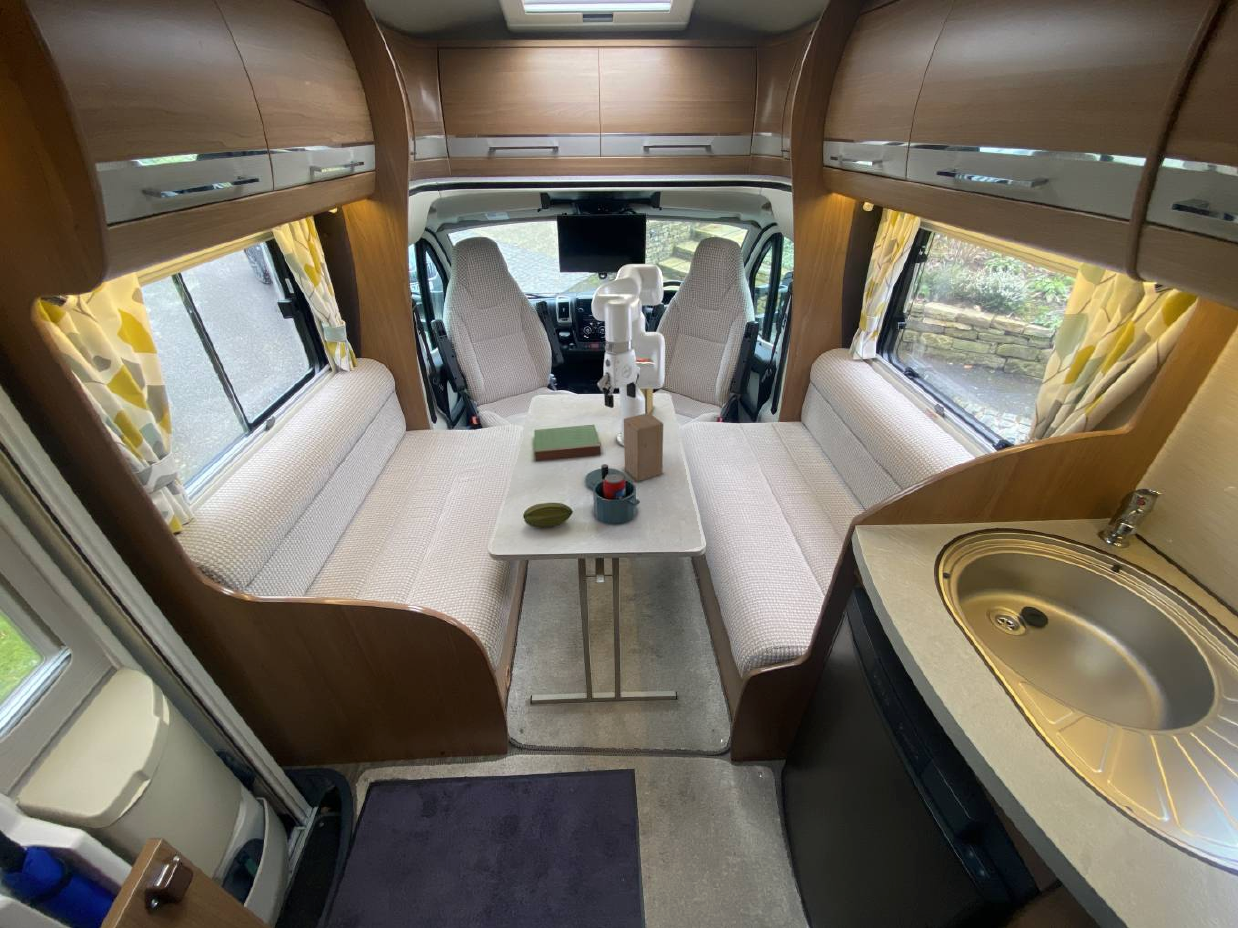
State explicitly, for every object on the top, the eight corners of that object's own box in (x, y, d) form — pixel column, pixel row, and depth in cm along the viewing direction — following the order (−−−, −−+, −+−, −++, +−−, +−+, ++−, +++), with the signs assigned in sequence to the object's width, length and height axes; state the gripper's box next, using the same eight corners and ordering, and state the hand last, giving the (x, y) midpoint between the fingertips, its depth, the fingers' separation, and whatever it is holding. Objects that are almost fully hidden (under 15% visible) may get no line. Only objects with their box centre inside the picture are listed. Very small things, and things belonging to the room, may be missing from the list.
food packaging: (633, 405, 227) (633, 351, 215) (653, 406, 225) (654, 353, 212) (626, 417, 216) (625, 361, 204) (647, 419, 214) (647, 363, 201)
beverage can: (623, 517, 152) (622, 484, 146) (602, 515, 153) (600, 482, 147) (627, 504, 158) (627, 472, 152) (607, 502, 159) (605, 470, 153)
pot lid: (605, 466, 180) (604, 452, 177) (633, 480, 172) (633, 464, 169) (577, 482, 171) (575, 467, 168) (605, 496, 163) (605, 481, 160)
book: (535, 460, 185) (534, 452, 183) (535, 438, 201) (534, 430, 199) (602, 454, 188) (602, 445, 186) (596, 432, 204) (596, 424, 202)
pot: (608, 492, 165) (607, 470, 161) (651, 513, 154) (651, 490, 150) (580, 509, 157) (578, 486, 153) (622, 533, 146) (622, 509, 142)
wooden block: (637, 482, 170) (637, 429, 160) (624, 469, 178) (623, 418, 168) (662, 474, 174) (663, 423, 164) (648, 462, 182) (648, 412, 172)
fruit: (548, 508, 158) (546, 490, 155) (575, 522, 151) (574, 504, 148) (520, 525, 151) (518, 507, 147) (548, 541, 144) (546, 522, 141)
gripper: (607, 355, 133) (609, 414, 142) (648, 341, 144) (648, 396, 152) (587, 350, 138) (591, 407, 146) (629, 336, 148) (630, 390, 157)
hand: (620, 401), depth 149 cm, fingers open, 9 cm apart
